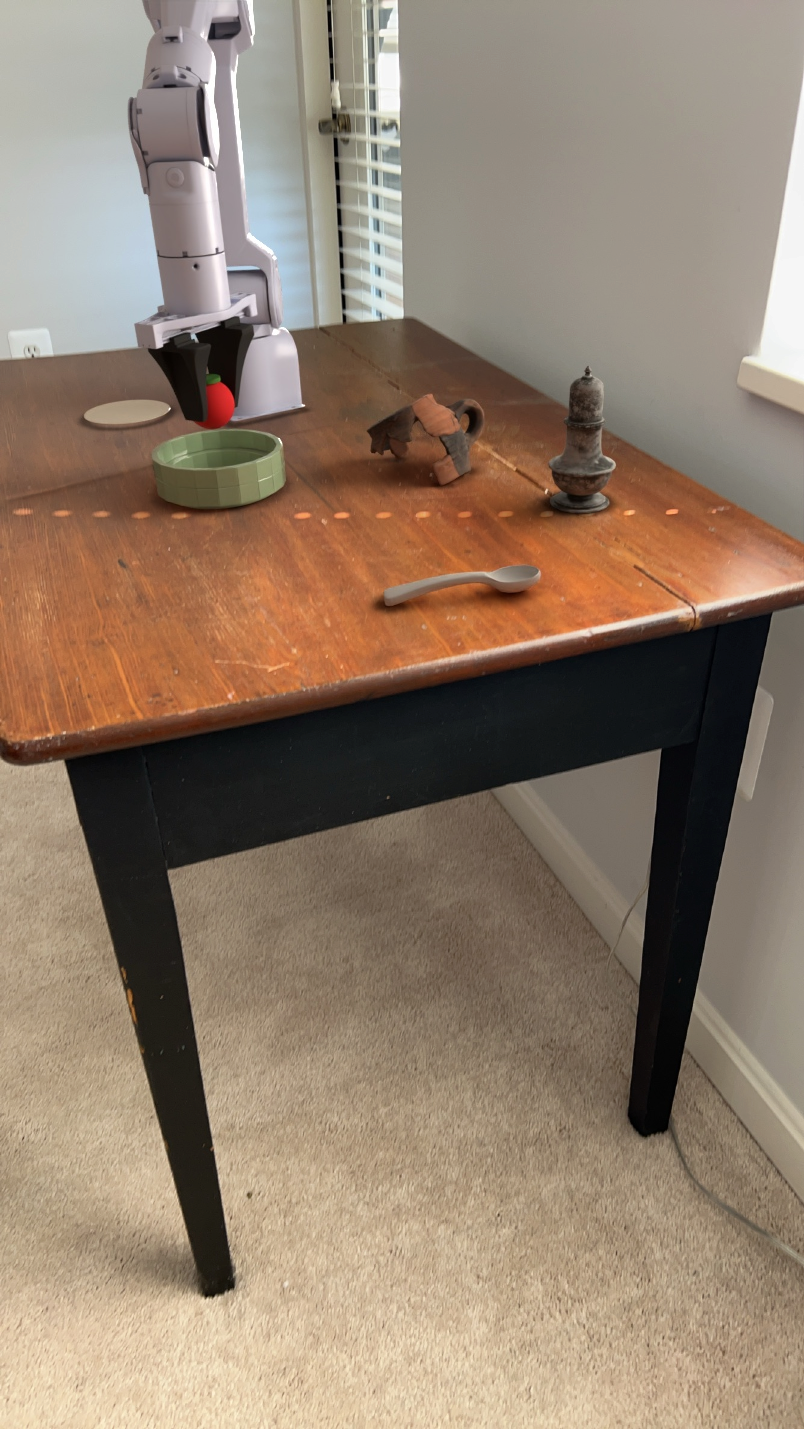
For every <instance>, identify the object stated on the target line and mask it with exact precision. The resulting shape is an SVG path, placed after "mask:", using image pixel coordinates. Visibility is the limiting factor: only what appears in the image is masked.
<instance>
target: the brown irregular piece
mask: <svg viewBox="0 0 804 1429" xmlns="http://www.w3.org/2000/svg"><path fill="white" fill-rule="evenodd" d="M464 414H466V415H467V417H468V425H467V429H465V430H466V431H465V430H463V428H462V425H461V424H460V421H461V419H462V416H463V415H464ZM417 422H419V423H420V424H421V426H422V429H423V431H424V432H425V433H427V434H428V435H429V436H430V437H432V438H439V441H440V443H441V445H442V446H443V447H444V449H445V455H444V456H443V457H442V458H440V459H439V460H437V461H435V462H434V463H432V465H431V469H432V471H433V473H434V474H435V476H436V480H437V481H438V485H439V486H441V487H442V486H444V485H446V484H449V483H450V482H453V481H454V480H455V479H458V478H459V477H460V476H463V475H464V474H467V473H470V471H471V470H472V466H471V459H470V451H471V447H473V445H474V444H475V443H476V442H477V441H478V440H479V438H480V437H481V435H482V433H483V430H484V427H485V422H486V421H485V411H484V409H483V408H482V406H481V405H480V403H478V402H477V401H476V400H474V399H472V398H462V399H460V400H457V401H456V402H453V403H452V404H449V405H445V406H444V405H442V404H439V403H437V402H436V400H435V398H434V396H433V394H432V393H428V394H424V395H423V396H421V397H420V398H418V399H416V400H414V401H412V402H411V403H409V404H408V405H405V406H403V407H402V408H400V409H398V410H396V411H395V412H392V413H391V414H389V415H387V416H385V417H384V418H382V419H380V420H378V421H377V422H375V423H374V424H372V425H370V426H369V428H367V429H366V432H367V434H368V435H369V437H370V438H371V441H370V442H371V443H370V453H371V454H376V453H378V455H380V456H382V457H383V456H384V454H385V452H386V451H390V454H392V455H393V456H394V457H395V458H396V459H398V460H401V459H402V458H403V457H404V456H406V455H407V454H408V452H409V451H410V446H409V443H411V442H413V437H412V434H411V433H412V430H413V425H415V424H416V423H417Z"/></svg>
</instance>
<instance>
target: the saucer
mask: <svg viewBox="0 0 804 1429" xmlns="http://www.w3.org/2000/svg"><path fill="white" fill-rule="evenodd" d="M170 410H171V405H169V404H168V403H166V402H163V401H160V400H156V399H155V400H153V399H127V400H118V401H112V402H108V403H104V404H100V405H97V406H94V407H92V408H90V409H88V410H87V411H85V412H84V414H83V418H84V419H85V420H86V421H88V422H90V423H95V424H99V425H127V424H135V423H141V422H146V421H151V420H154V419H157V418H160V417H162V416H164V415H166V414H167V413H169V412H170Z"/></svg>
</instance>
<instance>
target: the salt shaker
mask: <svg viewBox="0 0 804 1429" xmlns="http://www.w3.org/2000/svg"><path fill="white" fill-rule="evenodd" d="M583 372H584V374H583V375H582V376H580V377H577V378H576V379H574V380H573V381H572V382H571V383H570V386H569V393H568V394H569V395H568V412H567V413H568V414H567V416H566V417H564V419H563V424H565V426H566V432H565V434H566V435H565V445H564V449H563V452H562V454H560V455H557V456H554V457H552V458H551V459H550V460H549V461H548V464H547V465H548V468H549V469H550V470H551V477H552V480H553V483H554V485H555V486H556V487H557V488H558V490H560V491H558V492H557V493H555V494H554V495H553V496H551V497H550V499H549V503H550V505H551V506H552V507H553V508H554V509H556V510H558V511H561V512H566V513H572V514H592V513H596V512H600V511H603V510H605V509H606V508H608V507H609V506H610V499H609V498H608V497H607V496H606V495H604V494H603V493H601V491H602V490H603V489H605V488H606V487H607V485H608V483H609V481H610V479H611V477H612V472H613V471H614V470H615V469H616V466H617V465H616V462H615V460H614V459H612V458H610V457H608V456H606V455H603V449H602V434H603V426H604V425H606V423H607V420H606V418H605V417H603V410H604V409H603V407H604V395H605V386H604V383H603V381H602V380H601V379H599V378H598V377H595V376H594V375H593V374H591V373H592V372H593V370H592V367H590V365H587V366H586V367H585V369H584V370H583Z"/></svg>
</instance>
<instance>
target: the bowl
mask: <svg viewBox="0 0 804 1429" xmlns="http://www.w3.org/2000/svg"><path fill="white" fill-rule="evenodd" d="M284 452H285V451H284V444H283V442H282V440H281V439H280V438H279V437H278V436H276V435H274V434H272V433H269V432H266V431H260V430H256V429H246V428H217V429H207V430H200V431H195V432H191V433H185V434H182V435H178V436H176V437H173V438H169V439H167V440H165V441H163V442H161V443H159V444H157V445H156V446H155V447H154V448H153V449H152V450H151V453H150V457H151V464H152V470H153V475H154V481H155V486H156V491H157V495H158V496H159V497H160V498H161V499H163V500H164V501H165V502H169V503H172V504H175V505H178V506H181V507H185V508H189V509H197V510H198V509H199V510H221V509H229V508H231V509H232V508H236V507H242V506H245V505H250V504H253V503H256V502H260V501H262V500H264V499H266V498H267V497H269V496H271V495H273V494H276V493H277V492H278V491H279V490H280V489H282V488H283V487H284V486H285V483H286V481H287V473H286V472H287V471H286V462H285V454H284Z"/></svg>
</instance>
